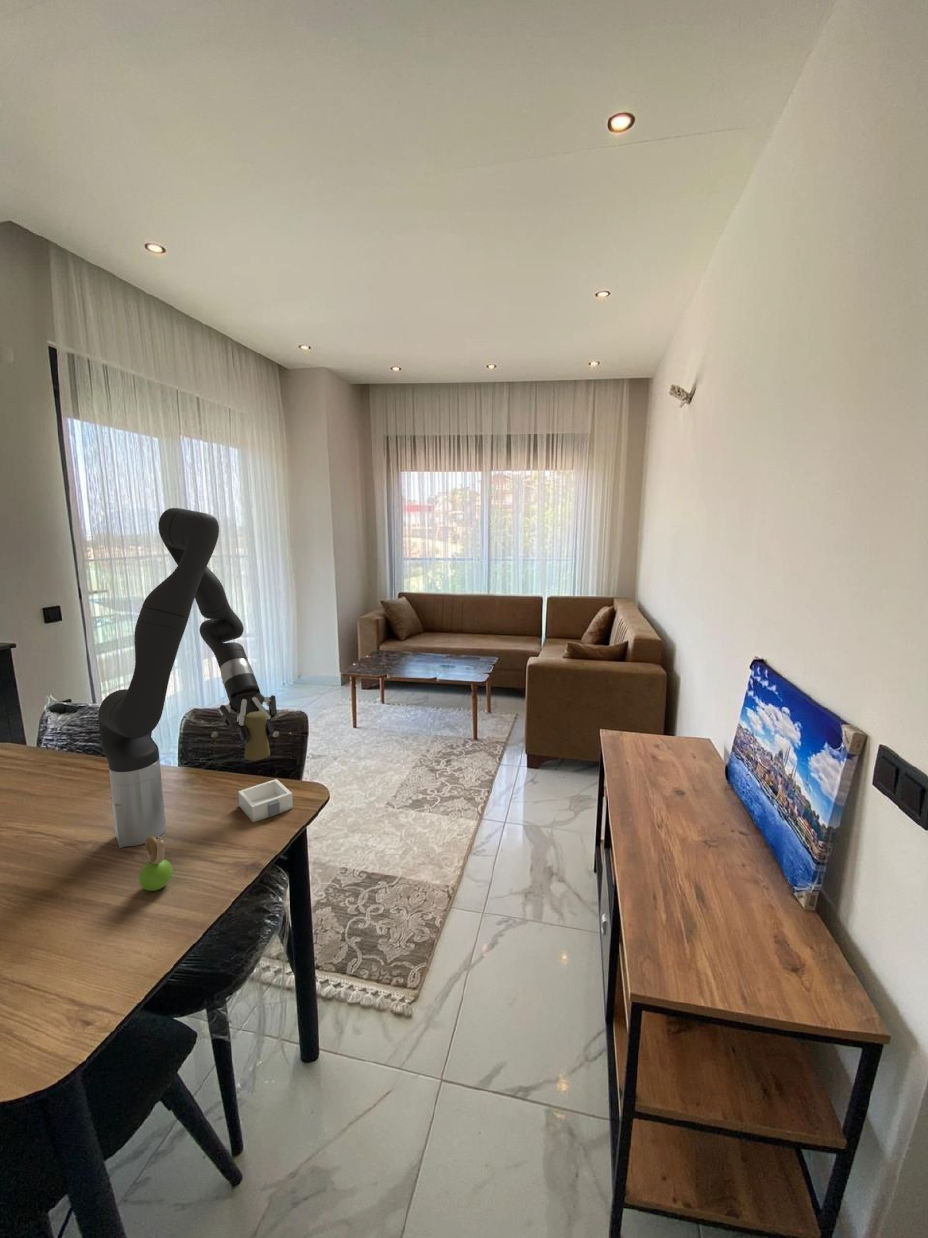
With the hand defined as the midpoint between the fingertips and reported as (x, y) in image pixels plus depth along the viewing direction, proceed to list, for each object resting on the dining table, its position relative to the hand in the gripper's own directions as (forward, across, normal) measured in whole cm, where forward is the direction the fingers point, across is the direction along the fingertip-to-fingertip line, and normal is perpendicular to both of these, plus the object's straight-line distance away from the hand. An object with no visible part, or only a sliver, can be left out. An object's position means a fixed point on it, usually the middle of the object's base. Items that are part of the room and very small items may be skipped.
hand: (259, 737), depth 120 cm
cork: (+2, 0, +5) cm, 6 cm away
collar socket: (+14, 0, +11) cm, 18 cm away
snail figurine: (+24, -26, +2) cm, 36 cm away
